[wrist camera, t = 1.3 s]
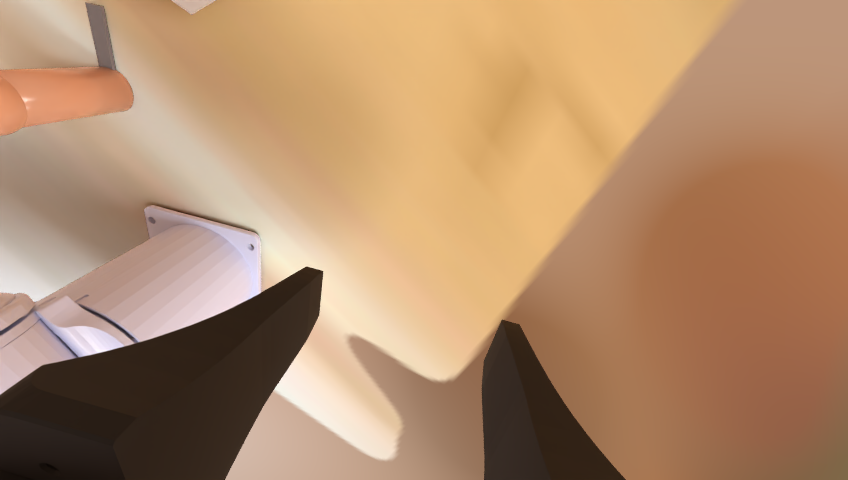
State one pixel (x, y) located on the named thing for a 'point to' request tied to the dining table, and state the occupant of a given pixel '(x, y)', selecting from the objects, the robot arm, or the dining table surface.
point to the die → (193, 4)
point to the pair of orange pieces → (65, 87)
